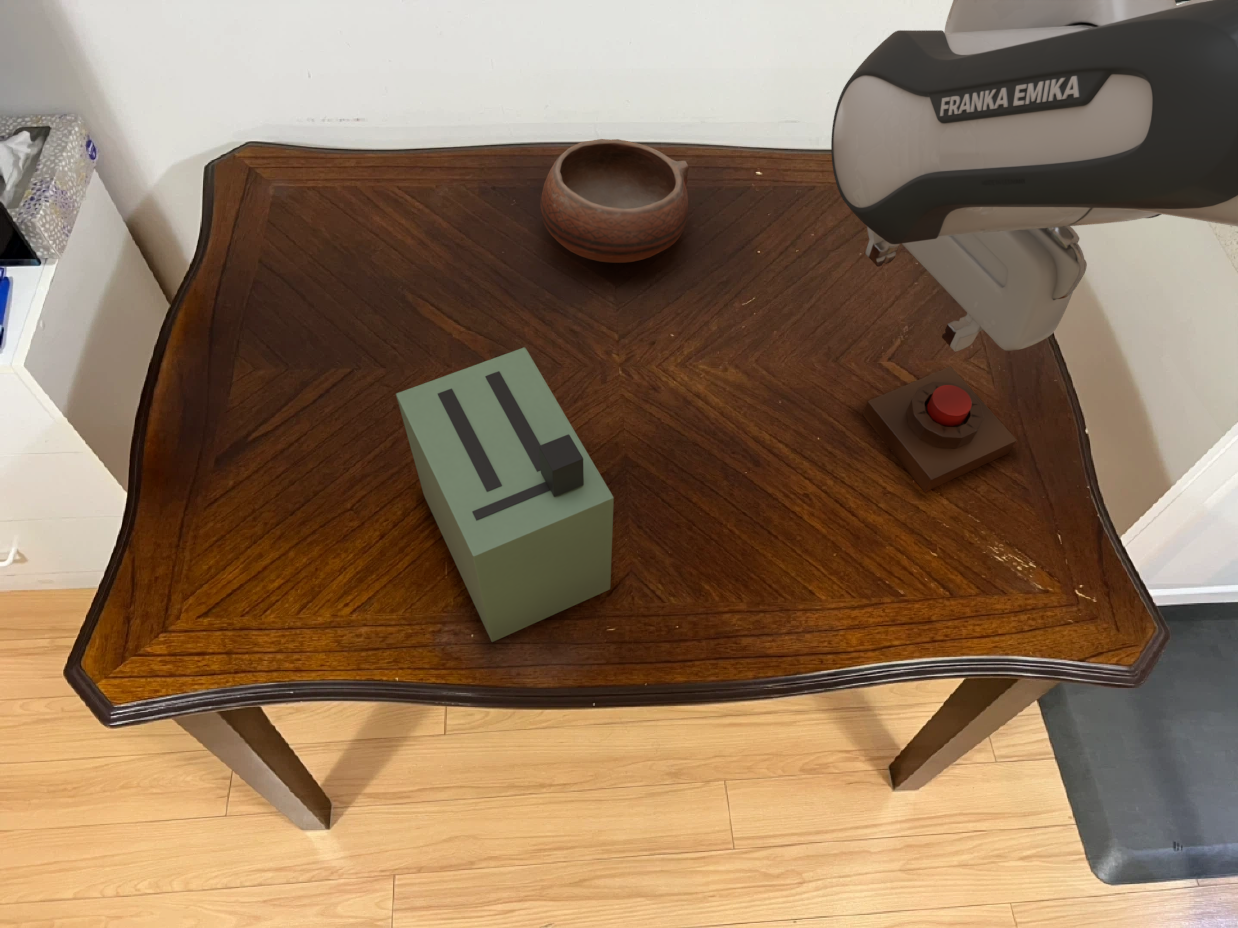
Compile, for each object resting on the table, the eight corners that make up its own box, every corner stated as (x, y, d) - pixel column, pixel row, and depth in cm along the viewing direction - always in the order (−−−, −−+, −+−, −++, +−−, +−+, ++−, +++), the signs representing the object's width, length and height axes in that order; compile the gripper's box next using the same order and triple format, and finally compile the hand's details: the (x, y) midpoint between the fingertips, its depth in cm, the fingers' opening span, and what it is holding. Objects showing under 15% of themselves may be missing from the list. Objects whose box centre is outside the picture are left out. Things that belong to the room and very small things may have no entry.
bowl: (706, 220, 107) (716, 147, 99) (647, 311, 100) (652, 240, 91) (584, 177, 111) (583, 102, 103) (517, 262, 103) (510, 189, 95)
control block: (1008, 453, 91) (1024, 429, 87) (924, 492, 88) (937, 468, 85) (943, 379, 95) (956, 353, 92) (862, 414, 93) (872, 389, 89)
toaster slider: (584, 485, 69) (583, 458, 66) (554, 497, 69) (552, 471, 66) (570, 460, 71) (569, 433, 68) (540, 472, 70) (538, 445, 67)
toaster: (610, 589, 82) (614, 497, 69) (491, 642, 79) (472, 556, 66) (534, 451, 89) (525, 345, 77) (423, 495, 86) (395, 392, 74)
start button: (973, 418, 88) (980, 407, 87) (942, 432, 87) (948, 421, 86) (949, 391, 90) (955, 379, 89) (919, 404, 89) (924, 392, 88)
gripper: (1136, 236, 55) (1042, 382, 67) (920, 47, 65) (871, 203, 77) (1054, 270, 54) (971, 414, 65) (845, 71, 63) (806, 227, 75)
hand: (916, 299), depth 71 cm, fingers open, 8 cm apart
